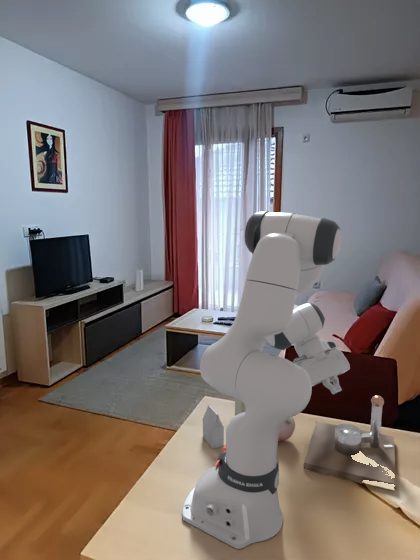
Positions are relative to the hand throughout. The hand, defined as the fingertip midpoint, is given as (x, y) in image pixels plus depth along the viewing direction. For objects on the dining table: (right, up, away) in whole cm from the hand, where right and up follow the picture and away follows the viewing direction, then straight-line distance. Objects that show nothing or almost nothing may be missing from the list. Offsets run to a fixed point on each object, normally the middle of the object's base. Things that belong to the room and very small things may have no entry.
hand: (337, 392), depth 123 cm
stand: (0, -15, -10) cm, 18 cm away
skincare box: (-27, -11, +10) cm, 31 cm away
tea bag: (-38, -14, -3) cm, 40 cm away
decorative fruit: (-18, -13, -3) cm, 23 cm away
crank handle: (+3, -12, -10) cm, 16 cm away
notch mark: (+11, -12, -10) cm, 19 cm away
